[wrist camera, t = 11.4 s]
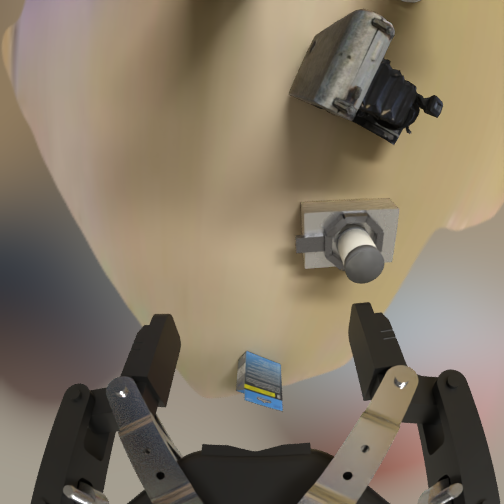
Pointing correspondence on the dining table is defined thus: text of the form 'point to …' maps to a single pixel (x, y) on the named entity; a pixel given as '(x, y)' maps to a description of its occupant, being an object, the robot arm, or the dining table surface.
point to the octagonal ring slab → (338, 216)
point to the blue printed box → (260, 380)
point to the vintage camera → (360, 77)
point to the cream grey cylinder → (359, 254)
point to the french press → (410, 0)
